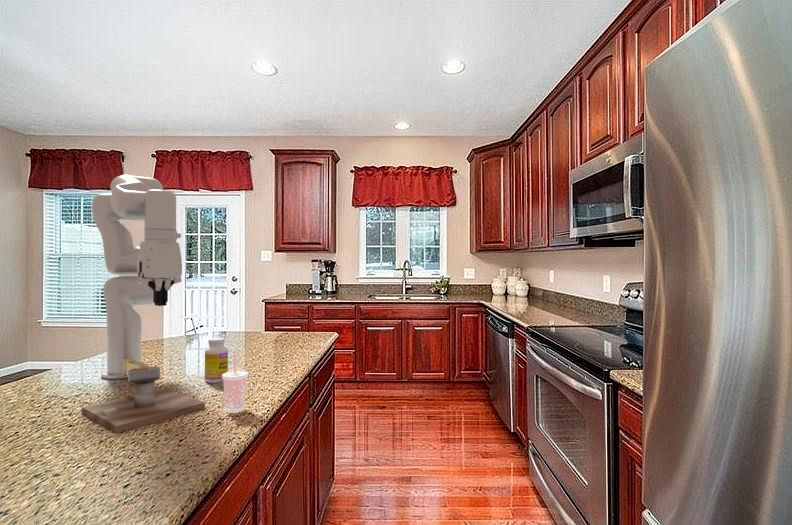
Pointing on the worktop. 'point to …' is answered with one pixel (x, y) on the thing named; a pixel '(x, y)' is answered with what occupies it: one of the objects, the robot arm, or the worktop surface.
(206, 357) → the supplement bottle
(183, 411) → the post base
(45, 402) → the worktop surface
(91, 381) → the worktop surface
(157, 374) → the brass lever handle
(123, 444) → the worktop surface
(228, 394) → the beverage cup
